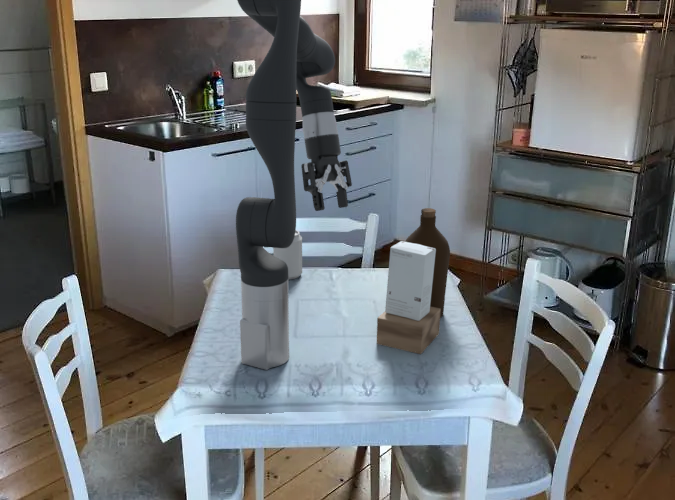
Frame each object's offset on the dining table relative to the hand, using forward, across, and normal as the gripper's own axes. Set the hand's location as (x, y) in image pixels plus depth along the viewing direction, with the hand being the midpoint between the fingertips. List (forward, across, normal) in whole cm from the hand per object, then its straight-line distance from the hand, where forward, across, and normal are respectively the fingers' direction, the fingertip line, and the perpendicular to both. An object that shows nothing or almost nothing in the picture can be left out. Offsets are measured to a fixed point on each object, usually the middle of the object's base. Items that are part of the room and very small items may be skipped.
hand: (331, 208), depth 162 cm
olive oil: (+27, +16, -9) cm, 33 cm away
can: (+16, +16, +30) cm, 37 cm away
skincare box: (+24, +2, -14) cm, 28 cm away
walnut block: (+30, +3, -13) cm, 33 cm away
